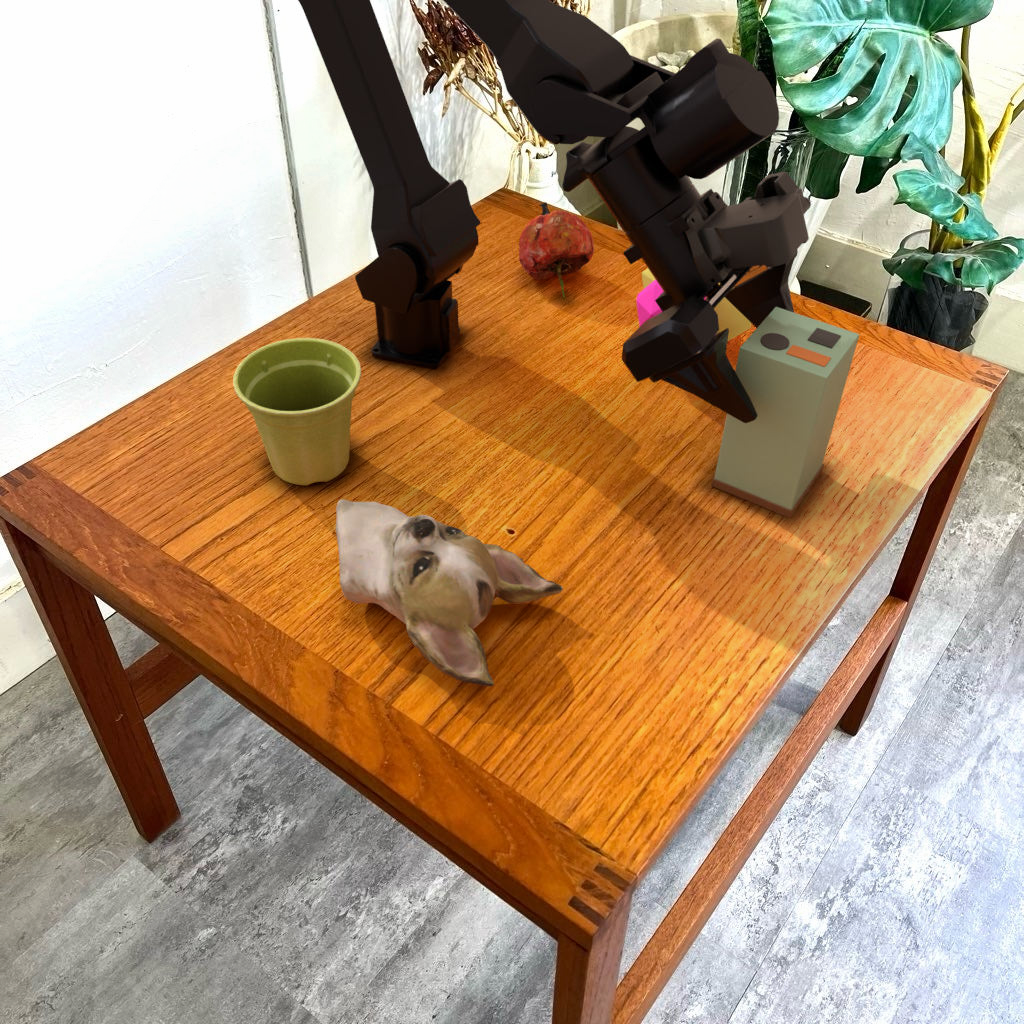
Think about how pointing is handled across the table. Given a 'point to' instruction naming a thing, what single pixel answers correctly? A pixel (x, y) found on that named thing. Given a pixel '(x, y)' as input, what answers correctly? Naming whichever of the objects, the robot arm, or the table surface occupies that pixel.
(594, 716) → the table surface
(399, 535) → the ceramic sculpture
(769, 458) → the shape sorter
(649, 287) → the toy
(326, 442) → the plant pot
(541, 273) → the pomegranate
